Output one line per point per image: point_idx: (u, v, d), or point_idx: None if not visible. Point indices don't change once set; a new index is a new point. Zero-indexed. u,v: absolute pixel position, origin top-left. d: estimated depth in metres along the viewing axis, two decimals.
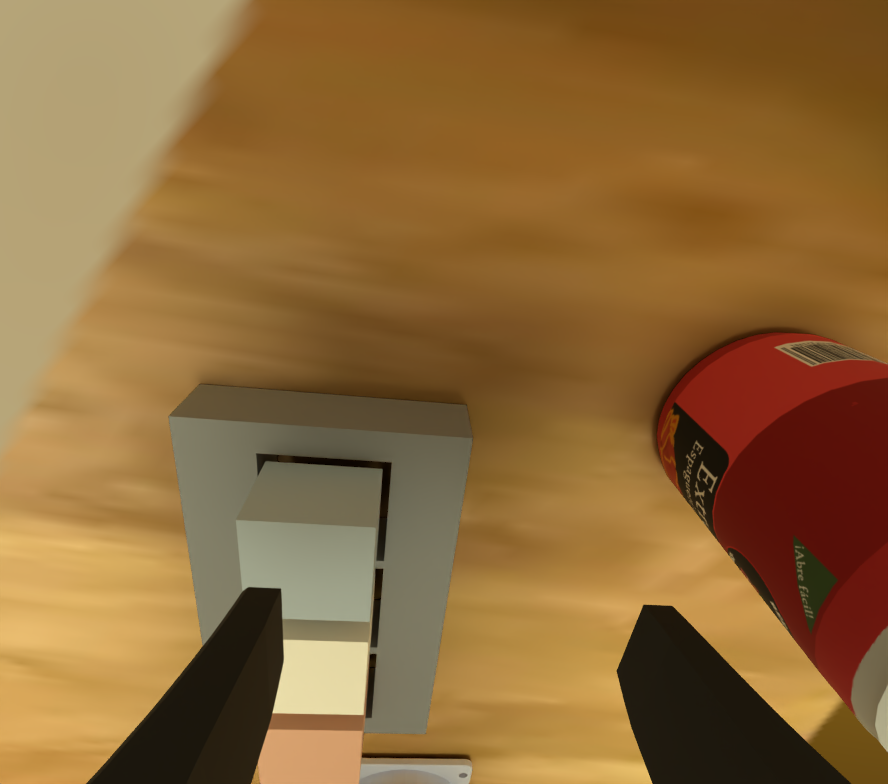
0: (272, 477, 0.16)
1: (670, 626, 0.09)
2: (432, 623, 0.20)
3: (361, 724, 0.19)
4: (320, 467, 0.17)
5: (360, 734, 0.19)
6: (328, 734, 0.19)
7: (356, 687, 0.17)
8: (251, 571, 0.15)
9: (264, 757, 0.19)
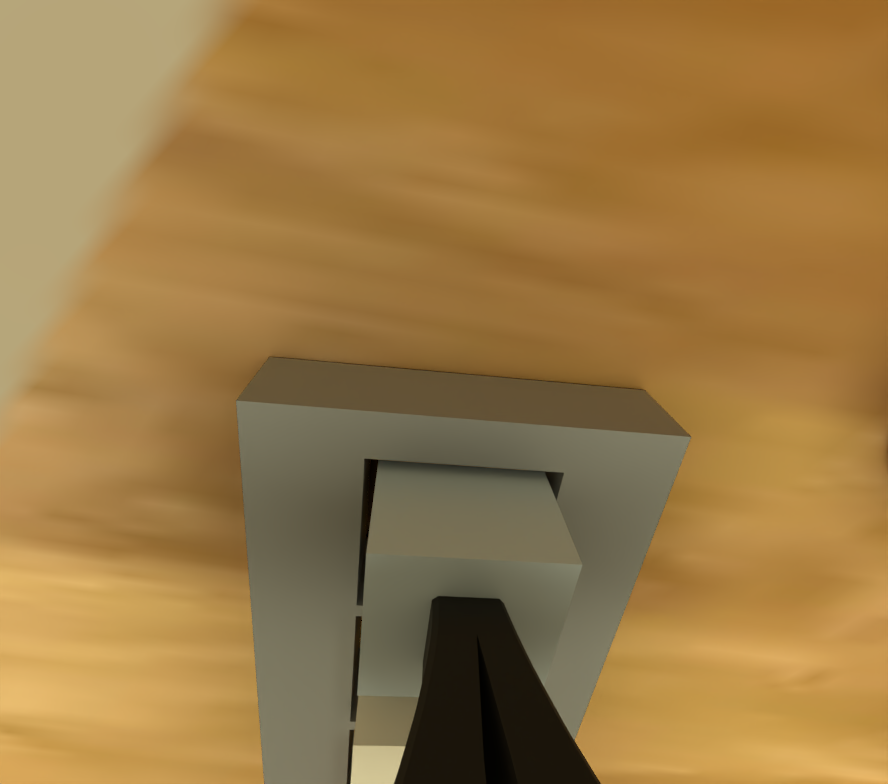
0: (397, 484, 0.11)
1: (483, 618, 0.09)
2: (577, 694, 0.15)
3: None
4: (458, 469, 0.11)
5: None
6: None
7: None
8: (378, 630, 0.09)
9: None
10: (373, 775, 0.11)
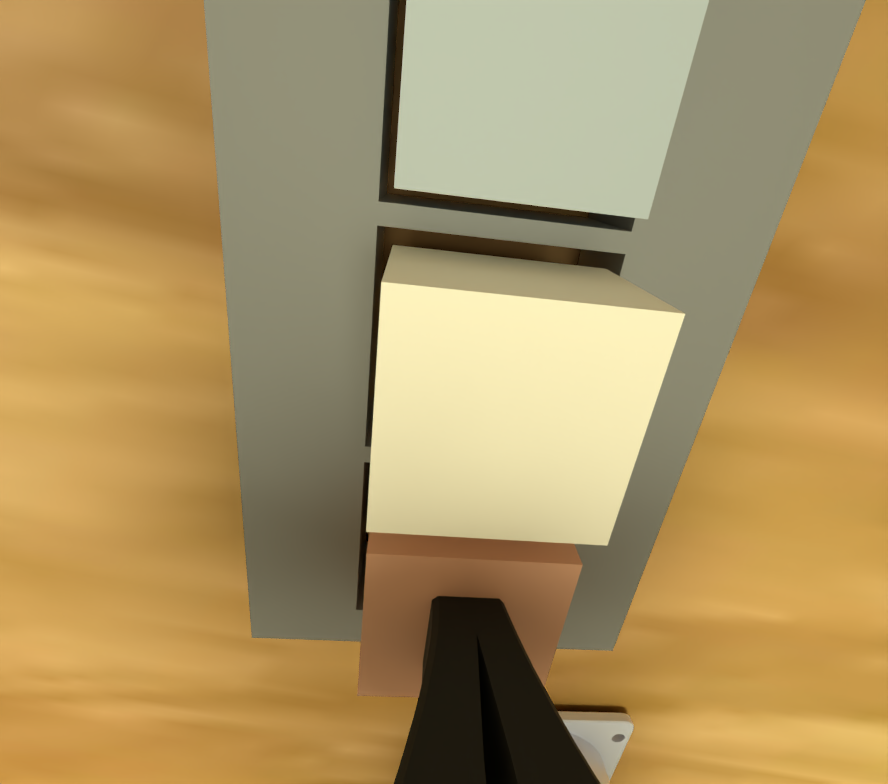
0: None
1: (484, 618, 0.09)
2: (687, 406, 0.10)
3: (575, 555, 0.09)
4: None
5: (576, 574, 0.09)
6: (512, 573, 0.09)
7: (614, 464, 0.07)
8: (429, 27, 0.06)
9: (375, 625, 0.09)
10: (413, 369, 0.07)
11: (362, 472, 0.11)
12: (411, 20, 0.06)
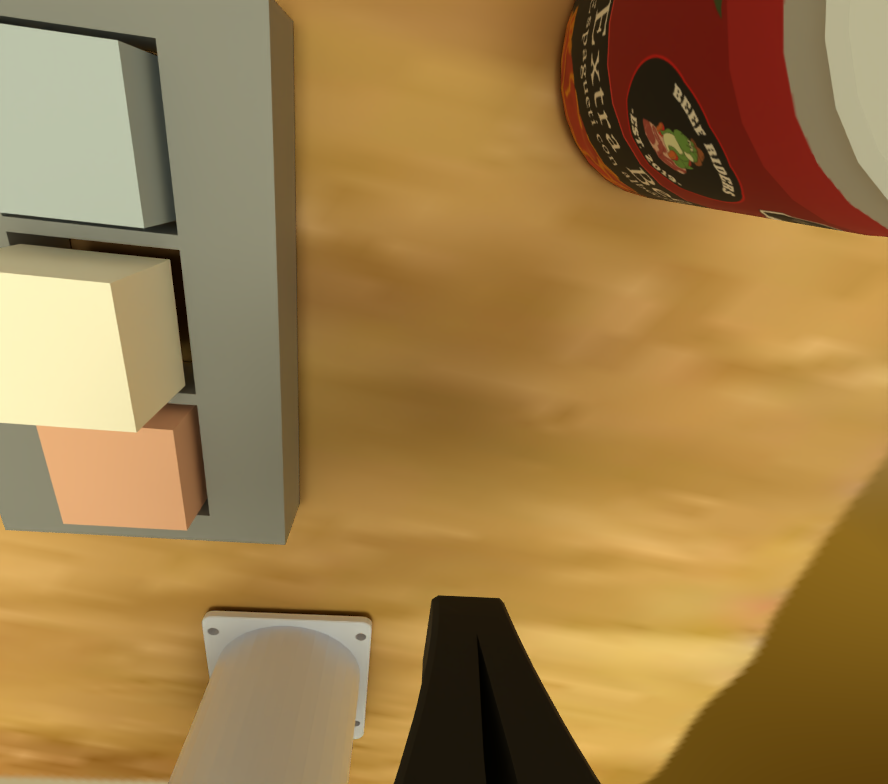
0: None
1: (484, 618, 0.09)
2: (265, 354, 0.15)
3: (174, 426, 0.15)
4: None
5: (171, 436, 0.15)
6: (131, 434, 0.15)
7: (113, 376, 0.12)
8: None
9: (57, 470, 0.15)
10: None
11: None
12: None
